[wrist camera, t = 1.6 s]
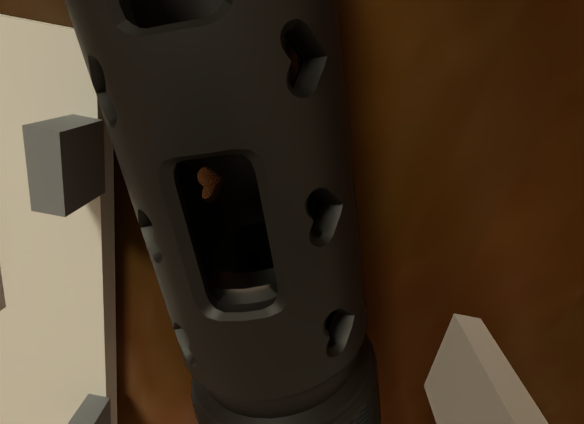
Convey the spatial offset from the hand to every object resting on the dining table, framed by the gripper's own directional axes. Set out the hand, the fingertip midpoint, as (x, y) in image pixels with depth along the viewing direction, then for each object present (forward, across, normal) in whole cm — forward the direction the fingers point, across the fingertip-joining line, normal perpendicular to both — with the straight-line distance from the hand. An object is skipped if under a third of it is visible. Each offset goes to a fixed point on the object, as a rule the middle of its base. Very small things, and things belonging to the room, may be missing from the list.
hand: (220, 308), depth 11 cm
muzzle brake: (+12, 0, 0) cm, 12 cm away
